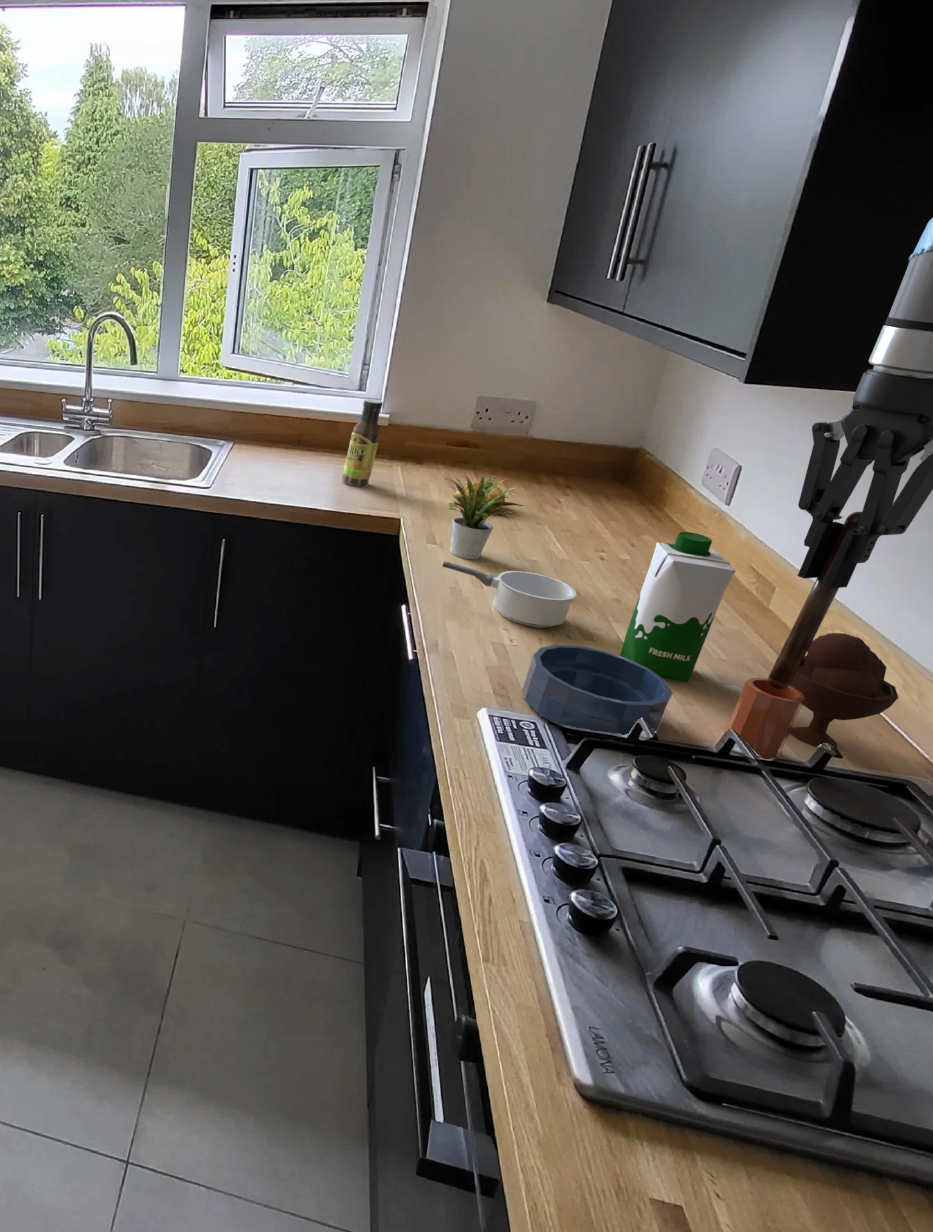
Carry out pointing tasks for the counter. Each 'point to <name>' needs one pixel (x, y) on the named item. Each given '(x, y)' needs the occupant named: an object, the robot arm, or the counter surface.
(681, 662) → the milk carton
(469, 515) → the house plant
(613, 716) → the mixing bowl
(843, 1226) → the counter surface
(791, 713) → the utensil pot
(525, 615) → the saucepan
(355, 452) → the sauce bottle
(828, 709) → the ice cream bowl
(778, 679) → the cooking stick
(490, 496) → the bagel
